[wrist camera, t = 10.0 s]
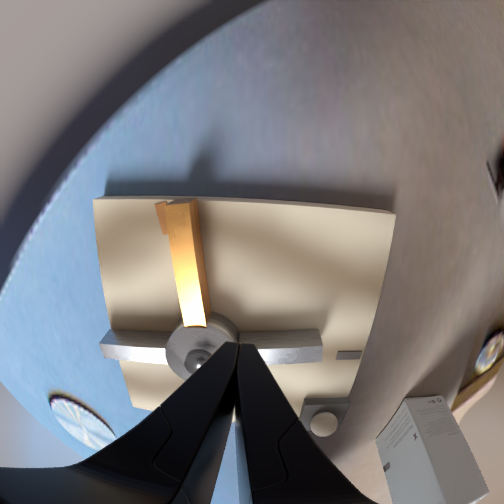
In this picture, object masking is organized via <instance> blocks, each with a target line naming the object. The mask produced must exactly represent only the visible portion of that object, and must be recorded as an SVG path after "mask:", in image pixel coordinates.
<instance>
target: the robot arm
mask: <svg viewBox="0 0 504 504" xmlns="http://www.w3.org/2000/svg"><path fill="white" fill-rule="evenodd" d="M234 408H235V436H236V455H237V471H238V487H239V502H240V504H378V503H376V502H374V501H372V500H371V499H369V498H368V497H366V496H365V495H363V494H362V493H361V492H360V491H359V490H358V489H357V488H356V487H355V486H354V485H353V484H352V483H351V482H350V481H349V480H348V479H347V478H346V477H345V476H344V475H343V474H342V472H341V471H340V470H339V469H338V468H337V467H336V466H335V465H334V464H333V463H332V462H331V460H330V459H329V458H328V457H327V456H326V455H325V454H324V452H323V451H322V450H321V449H320V448H319V446H318V445H317V444H316V443H315V441H314V440H313V438H312V437H311V436H310V434H309V433H308V431H307V430H306V428H305V427H304V425H303V423H302V422H301V420H299V417H298V416H297V414H296V412H295V411H294V409H293V408H292V406H291V404H290V403H289V401H288V400H287V398H286V396H285V395H284V393H283V391H282V390H281V388H280V386H279V385H278V383H277V381H276V380H275V378H274V376H273V375H272V373H271V371H270V370H269V368H268V366H267V365H266V363H265V361H264V359H263V358H262V356H261V354H260V353H259V351H258V349H257V347H256V346H255V344H253V343H240V344H239V343H238V342H230V341H226V342H224V343H223V344H222V345H221V346H220V347H219V348H218V349H217V350H216V351H215V352H214V353H213V354H212V355H211V356H210V357H209V358H208V359H207V360H206V361H205V362H204V363H203V364H202V365H201V366H200V367H199V368H198V369H197V370H196V371H195V372H194V373H193V374H192V375H191V376H190V377H189V378H188V379H187V380H186V381H185V382H184V383H183V384H181V385H180V386H179V387H178V388H177V389H176V390H175V391H174V392H173V393H172V394H171V395H170V396H169V397H168V398H167V399H166V400H165V401H164V402H162V403H161V404H160V406H158V407H157V408H156V409H155V410H154V411H153V412H152V413H150V414H149V415H148V416H147V417H146V418H145V419H143V420H142V421H141V422H140V423H139V424H138V425H136V426H135V427H134V428H132V429H131V430H129V431H128V432H127V433H125V434H124V435H123V436H121V437H120V438H118V439H117V440H115V441H114V442H112V443H111V444H109V445H107V446H106V447H104V448H103V449H101V450H100V451H98V452H97V453H95V454H93V455H92V456H90V457H89V458H87V459H85V460H83V461H81V462H79V463H77V464H73V465H70V466H66V467H54V468H8V467H7V468H6V467H0V504H210V503H211V499H212V495H213V492H214V488H215V484H216V480H217V477H218V473H219V469H220V465H221V462H222V458H223V454H224V450H225V446H226V442H227V438H228V434H229V431H230V427H231V423H232V419H233V414H234Z"/></svg>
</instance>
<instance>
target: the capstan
mask: <svg viewBox="0 0 504 504" xmlns="http://www.w3.org/2000/svg"><path fill="white" fill-rule="evenodd" d="M164 208H165V216H166V223H167V230H168V237H169V244H170V250H171V256H172V262H173V268H174V274H175V280H176V285H177V291H178V296H179V301H180V306H181V311H182V317H181V318H180V319H179V321H178V322H177V324H176V326H175V328H174V330H173V332H147V331H128V330H112V329H110V330H109V331H108V332H107V334H106V335H105V336H104V337H103V339H102V340H101V341H100V343H99V345H100V348H101V350H102V353H103V355H104V357H105V358H109V359H117V360H127V361H137V362H148V363H162V364H168V365H169V367H170V368H171V370H172V371H173V372H174V373H175V374H176V375H177V376H179V377H180V378H182V379H183V380H185V381H186V380H187V379H188V378H189V377H190V376H191V375H192V374H193V373H194V372H195V371H196V370H197V369H198V368H199V367H200V366H201V365H202V364H203V363H204V362H205V361H206V360H207V359H208V358H209V357H210V356H211V355H212V354H213V353H214V352H215V351H216V350H217V349H218V348H219V347H220V346H221V345H222V344H223V343H224V342H226V341H230V342H238V343H239V344H240V343H253V344H255V346H256V347H257V349H258V351H259V353H260V354H261V356H262V358H263V359H264V361H265V363H266V365H282V364H299V363H313V362H322V353H323V343H322V340H321V336H320V332H319V329H307V330H292V331H272V332H241V333H240V332H239V330H238V328H237V327H236V325H235V324H234V323H233V322H232V321H231V320H230V319H228V318H227V317H225V316H224V315H222V314H220V313H217V312H214V311H211V304H210V298H209V291H208V284H207V276H206V269H205V261H204V254H203V246H202V237H201V229H200V220H199V211H198V202H197V197H195V198H184V199H175V200H173V201H171V202H169V203H168V204H166V205H164Z"/></svg>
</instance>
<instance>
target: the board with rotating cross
mask: <svg viewBox="0 0 504 504" xmlns="http://www.w3.org/2000/svg"><path fill="white" fill-rule="evenodd" d="M195 197H197V202H198V211H199V220H200V229H201V237H202V246H203V254H204V261H205V269H206V276H207V284H208V291H209V298H210V304H211V311H214V312H217V313H220V314H222V315H224V316H225V317H227V318H228V319H230V320H231V321H232V322H233V323H234V324H235V325H236V327H237V328H238V330H239V332H240V333H241V332H272V331H292V330H307V329H319V332H320V336H321V340H322V343H323V353H322V362H313V363H299V364H282V365H267V366H268V368H269V370H270V371H271V373H272V375H273V376H274V378H275V380H276V381H277V383H278V385H279V386H280V388H281V390H282V391H283V393H284V395H285V396H286V398H287V400H288V401H289V403H290V404H291V406H292V408H293V409H294V411H295V412H296V414H297V416H298V417H299V420H301V422H302V423H303V425H304V427H305V428H306V430H307V431H312V432H313V433H314V434H316V435H317V436H321V437H326V436H329V435H331V434H332V433H333V432H334V431H335V430H338V429H339V428H340V426H341V424H342V421H343V419H344V417H345V414H346V412H347V409H348V407H349V405H350V402H349V398H348V396H349V394H350V391H351V388H352V386H353V383H354V380H355V377H356V374H357V372H358V369H359V366H360V363H361V360H362V357H363V354H364V350H365V347H366V344H367V341H368V337H369V334H370V331H371V327H372V324H373V320H374V317H375V313H376V309H377V305H378V301H379V297H380V293H381V289H382V285H383V281H384V276H385V272H386V267H387V262H388V257H389V252H390V247H391V242H392V236H393V230H394V224H395V218H396V215H395V214H393V213H391V212H390V211H388V210H381V209H373V208H363V207H354V206H344V205H333V204H322V203H310V202H297V201H283V200H267V199H249V198H228V197H201V196H102V197H99V198H96V199H93V208H94V221H95V232H96V242H97V250H98V258H99V265H100V272H101V278H102V285H103V290H104V296H105V301H106V306H107V311H108V316H109V321H110V325H111V329H112V330H128V331H147V332H173V330H174V328H175V326H176V324H177V322H178V321H179V319H180V318H181V317H182V311H181V306H180V301H179V296H178V291H177V285H176V280H175V274H174V268H173V262H172V256H171V250H170V244H169V237H168V230H167V223H166V216H165V208H164V205H166V204H168V203H169V202H171V201H173V200H175V199H184V198H195ZM119 362H120V365H121V369H122V372H123V376H124V379H125V382H126V386H127V389H128V392H129V395H130V398H131V401H132V404H133V407H137V408H142V409H146V410H151V411H154V410H155V409H156V408H157V407H158V406H160V404H161V403H162V402H164V401H165V400H166V399H167V398H168V397H169V396H170V395H171V394H172V393H173V392H174V391H175V390H176V389H177V388H178V387H179V386H180V385H181V384H183V383H184V382H185V380H183V379H182V378H180V377H179V376H177V375H176V374H175V373H174V372H173V371H172V370H171V368H170V367H169V365H168V364H162V363H148V362H137V361H127V360H119ZM232 422H235V408H234V414H233V419H232Z"/></svg>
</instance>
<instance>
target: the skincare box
mask: <svg viewBox="0 0 504 504" xmlns="http://www.w3.org/2000/svg"><path fill="white" fill-rule="evenodd" d="M376 445H377V448H378V452H379V455H380V458H381V462H382V465H383V469H384V472H385V476H386V479H387V483H388V487H389V490H390V494H391V498H392V502H393V504H475V503H477V502H478V501H479V500H480V499H482V498H483V497H484V496H485V495H487V494H488V493H489V489H488V487H487V485H486V483H485V481H484V478H483V476H482V474H481V471H480V469H479V467H478V465H477V463H476V460H475V458H474V456H473V454H472V452H471V450H470V448H469V446H468V443H467V442H466V440H465V438H464V436H463V434H462V432H461V430H460V428H459V426H458V424H457V422H456V420H455V418H454V416H453V414H452V412H451V411H450V409H449V407H448V405H447V403H446V401H445V400H444V398H443V396H442V395H438V396H432V397H416V398H405V399H404V401H403V402H402V404H401V406H400V408H399V409H398V411H397V412H396V414H395V415H394V417H393V418H392V420H391V421H390V422H389V424H388V425H387V426H386V428H385V429H384V430H383V431H382V432H381V434H380V435H379V436H378V437H377V438H376Z"/></svg>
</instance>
